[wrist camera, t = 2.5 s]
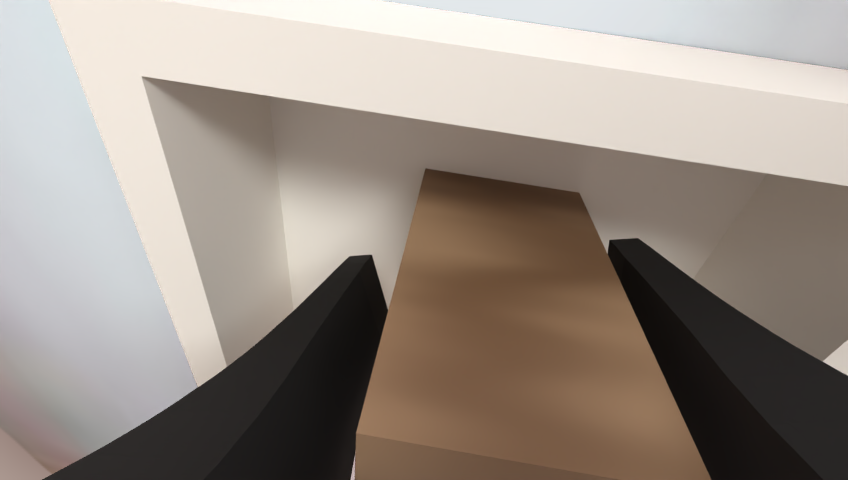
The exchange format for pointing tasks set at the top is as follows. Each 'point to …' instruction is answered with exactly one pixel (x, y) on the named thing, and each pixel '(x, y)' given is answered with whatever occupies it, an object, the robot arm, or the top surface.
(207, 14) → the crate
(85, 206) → the top surface
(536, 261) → the walnut block
